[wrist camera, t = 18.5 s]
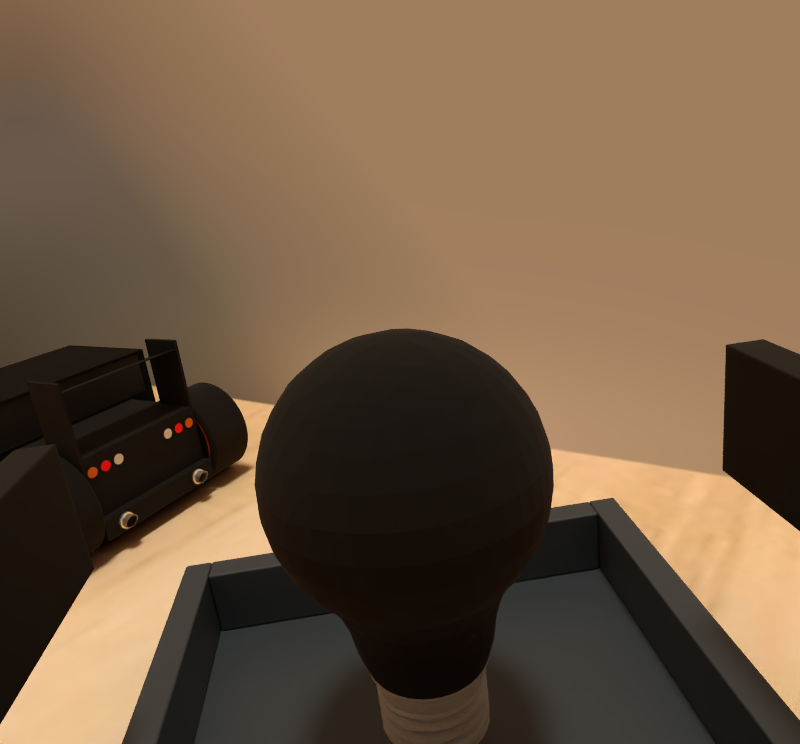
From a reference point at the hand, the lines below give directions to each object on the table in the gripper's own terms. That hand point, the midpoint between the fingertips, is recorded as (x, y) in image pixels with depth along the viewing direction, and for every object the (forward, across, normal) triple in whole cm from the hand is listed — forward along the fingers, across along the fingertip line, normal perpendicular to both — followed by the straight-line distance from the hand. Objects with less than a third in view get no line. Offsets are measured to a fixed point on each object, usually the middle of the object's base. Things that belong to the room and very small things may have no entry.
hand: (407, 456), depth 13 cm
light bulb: (0, 0, -8) cm, 8 cm away
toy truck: (+20, -18, -8) cm, 28 cm away
